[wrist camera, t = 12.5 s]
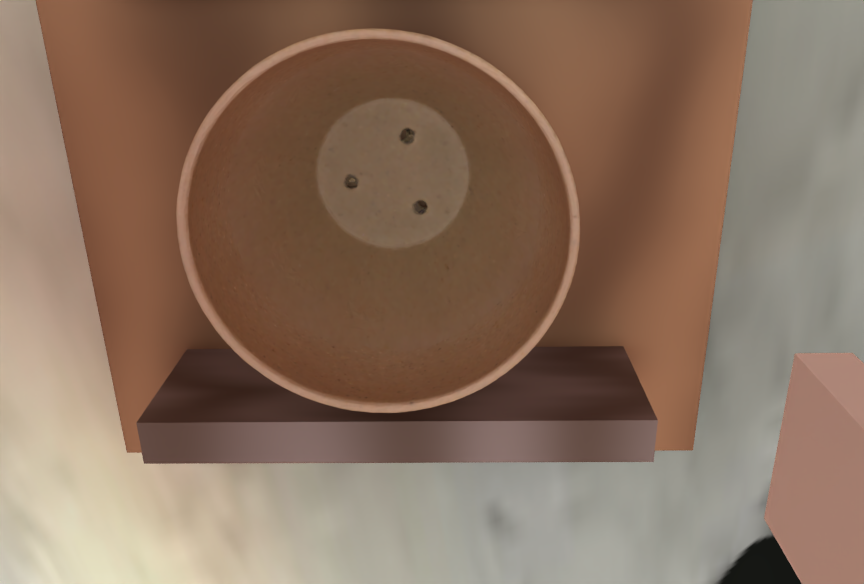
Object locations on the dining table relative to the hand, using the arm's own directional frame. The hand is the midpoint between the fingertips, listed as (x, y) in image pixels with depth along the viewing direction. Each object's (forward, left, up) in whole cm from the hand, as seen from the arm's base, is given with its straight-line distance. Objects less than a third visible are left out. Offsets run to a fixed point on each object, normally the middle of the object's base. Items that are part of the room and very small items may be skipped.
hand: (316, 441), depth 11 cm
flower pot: (0, 0, -16) cm, 16 cm away
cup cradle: (0, 0, -17) cm, 17 cm away
